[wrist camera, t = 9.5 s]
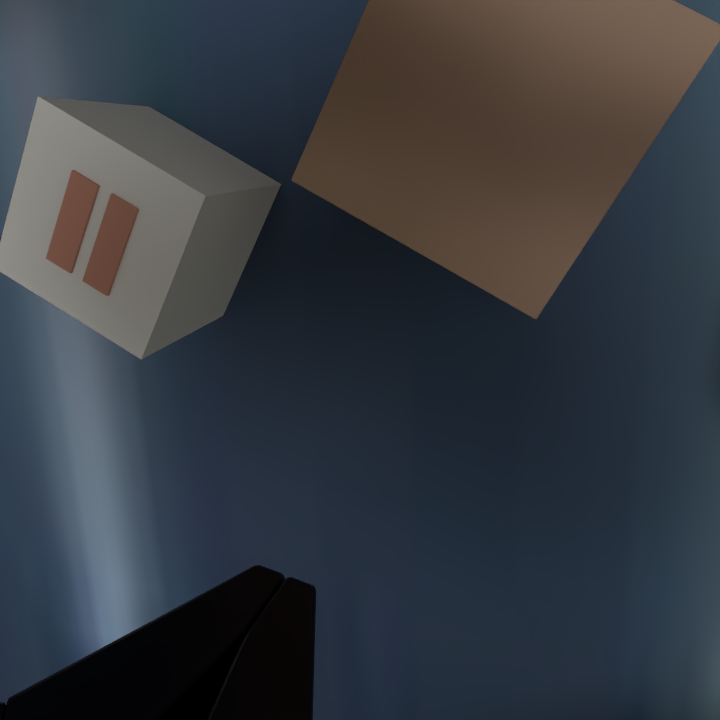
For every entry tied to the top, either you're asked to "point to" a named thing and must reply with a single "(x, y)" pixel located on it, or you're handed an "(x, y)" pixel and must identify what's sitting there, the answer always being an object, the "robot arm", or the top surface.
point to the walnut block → (500, 126)
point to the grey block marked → (130, 221)
